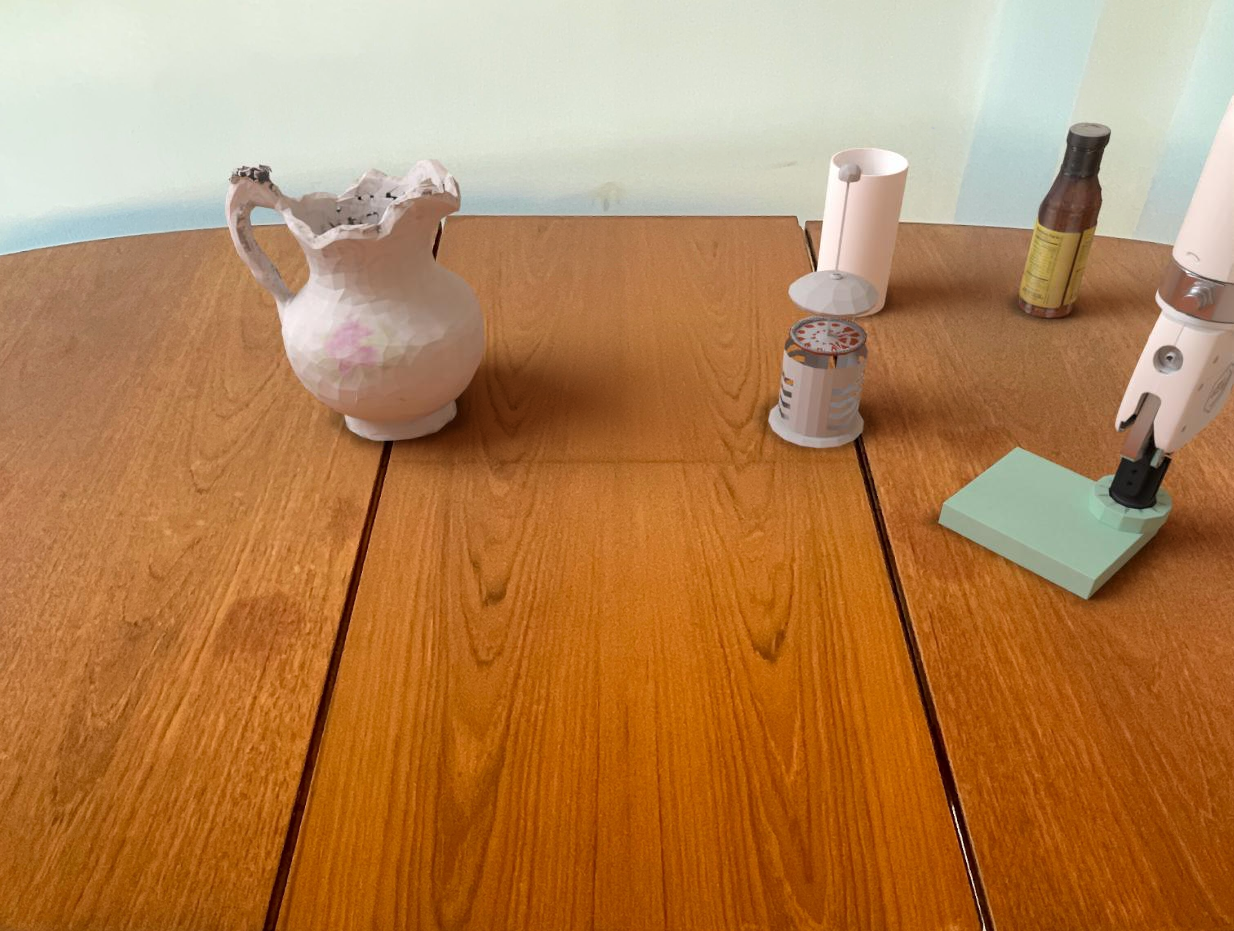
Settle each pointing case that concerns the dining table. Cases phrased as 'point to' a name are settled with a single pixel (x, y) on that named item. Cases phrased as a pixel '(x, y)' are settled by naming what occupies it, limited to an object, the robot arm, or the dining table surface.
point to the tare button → (1129, 502)
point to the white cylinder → (864, 216)
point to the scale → (1053, 520)
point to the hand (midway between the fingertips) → (1131, 494)
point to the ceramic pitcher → (370, 297)
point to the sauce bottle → (1065, 226)
